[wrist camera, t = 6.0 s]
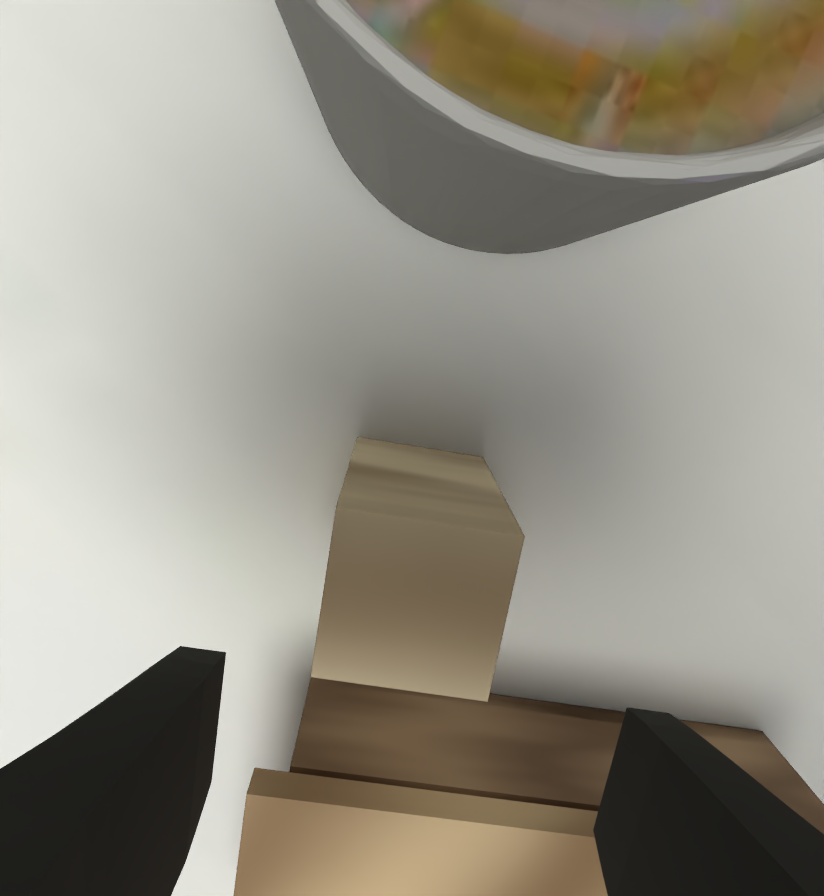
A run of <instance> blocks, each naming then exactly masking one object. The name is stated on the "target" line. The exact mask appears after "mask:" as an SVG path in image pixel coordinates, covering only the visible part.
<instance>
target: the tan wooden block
mask: <svg viewBox="0 0 824 896" xmlns="http://www.w3.org/2000/svg"><path fill="white" fill-rule="evenodd" d="M524 537H525V536H524V534H523V532H522V530H521V528H520V527H519V525H518V523H517V521H516V519H515V517H514V515H513V513H512V511H511V509H510V508H509V506H508V504H507V502H506V500H505V498H504V496H503V494H502V492H501V491H500V489H499V487H498V485H497V483H496V481H495V479H494V477H493V475H492V474H491V472H490V470H489V468H488V466H487V464H486V462H485V460H484V458H483V457H478V456H472V455H466V454H460V453H454V452H448V451H441V450H435V449H429V448H423V447H417V446H410V445H404V444H398V443H392V442H386V441H380V440H373V439H367V438H361V437H357V440H356V443H355V446H354V450H353V453H352V456H351V460H350V463H349V466H348V470H347V473H346V476H345V479H344V483H343V486H342V489H341V493H340V496H339V499H338V502H337V506H336V511H335V518H334V524H333V531H332V538H331V544H330V551H329V558H328V564H327V571H326V578H325V584H324V591H323V597H322V604H321V611H320V617H319V624H318V631H317V637H316V644H315V651H314V657H313V664H312V670H311V677H314V678H321V679H328V680H336V681H343V682H350V683H357V684H364V685H371V686H379V687H386V688H393V689H400V690H407V691H414V692H422V693H429V694H436V695H443V696H450V697H457V698H465V699H472V700H479V701H486V702H488V698H489V693H490V689H491V684H492V680H493V675H494V671H495V667H496V662H497V658H498V653H499V649H500V644H501V640H502V635H503V631H504V626H505V622H506V617H507V613H508V608H509V604H510V599H511V595H512V590H513V586H514V582H515V577H516V573H517V568H518V564H519V559H520V555H521V550H522V546H523V541H524Z"/></svg>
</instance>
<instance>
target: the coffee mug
mask: <svg viewBox="0 0 824 896" xmlns="http://www.w3.org/2000/svg"><path fill="white" fill-rule="evenodd" d="M275 2H276V5H277V7H278V9H279V12H280V14H281V17H282V19H283V22H284V24H285V26H286V29H287V31H288V34H289V36H290V38H291V41H292V43H293V46H294V48H295V50H296V53H297V55H298V58H299V60H300V63H301V65H302V67H303V70H304V72H305V75H306V77H307V79H308V82H309V84H310V87H311V89H312V91H313V94H314V96H315V99H316V101H317V104H318V106H319V108H320V111H321V113H322V116H323V118H324V120H325V123H326V125H327V128H328V130H329V132H330V134H331V136H332V138H333V140H334V142H335V144H336V146H337V148H338V149H339V151H340V153H341V155H342V156H343V158H344V160H345V161H346V162H347V164H348V165H349V167H350V168H351V170H352V171H353V172H354V174H355V175H356V176H357V178H358V179H359V180H360V181H361V183H362V184H363V185H364V186H365V187H366V188H367V189H368V190H369V192H370V193H371V194H372V195H373V196H374V197H375V198H376V199H377V200H378V201H379V202H381V203H382V204H383V205H384V206H385V207H386V208H388V209H389V210H390V211H391V212H392V213H394V214H395V215H396V216H398V217H399V218H400V219H401V220H403V221H404V222H406V223H407V224H409V225H411V226H412V227H414V228H416V229H417V230H419V231H421V232H423V233H425V234H427V235H429V236H431V237H433V238H436V239H438V240H440V241H443V242H446V243H449V244H452V245H455V246H459V247H462V248H466V249H470V250H475V251H482V252H489V253H505V254H512V253H530V252H537V251H543V250H548V249H552V248H556V247H560V246H564V245H567V244H570V243H573V242H576V241H579V240H582V239H585V238H588V237H591V236H594V235H597V234H600V233H603V232H606V231H609V230H612V229H616V228H619V227H622V226H625V225H628V224H631V223H634V222H637V221H640V220H643V219H646V218H649V217H652V216H655V215H658V214H661V213H664V212H667V211H670V210H673V209H676V208H679V207H682V206H685V205H688V204H691V203H694V202H697V201H700V200H703V199H706V198H709V197H712V196H715V195H718V194H721V193H724V192H727V191H730V190H733V189H737V188H740V187H743V186H746V185H749V184H752V183H755V182H758V181H761V180H764V179H767V178H770V177H773V176H776V175H779V174H782V173H785V172H788V171H791V170H794V169H797V168H800V167H803V166H806V165H808V164H811V163H813V162H816V161H818V160H821V159H823V158H824V0H275Z"/></svg>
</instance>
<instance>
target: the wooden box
mask: <svg viewBox="0 0 824 896" xmlns="http://www.w3.org/2000/svg"><path fill="white" fill-rule="evenodd" d="M624 716H625V712H618V711H611V710H603V709H596V708H589V707H581V706H574V705H567V704H559V703H552V702H545V701H538V700H530V699H523V698H516V697H508V696H501V695H494V694H489V698H488V702H486V701H479V700H472V699H465V698H457V697H450V696H443V695H436V694H429V693H422V692H414V691H407V690H400V689H393V688H386V687H379V686H371V685H364V684H357V683H350V682H343V681H336V680H328V679H321V678H314V677H311V680H310V684H309V688H308V693H307V697H306V701H305V706H304V710H303V714H302V718H301V723H300V727H299V731H298V736H297V740H296V744H295V749H294V753H293V757H292V761H291V766H290V772H291V773H299V774H307V775H315V776H323V777H330V778H338V779H346V780H354V781H362V782H370V783H378V784H385V785H393V786H401V787H409V788H417V789H425V790H433V791H440V792H448V793H456V794H464V795H472V796H480V797H488V798H496V799H503V800H511V801H519V802H527V803H535V804H543V805H551V806H558V807H566V808H574V809H582V810H590V811H598V810H599V807H600V803H601V799H602V796H603V792H604V788H605V785H606V781H607V778H608V774H609V770H610V767H611V763H612V759H613V756H614V752H615V749H616V745H617V741H618V738H619V734H620V730H621V727H622V723H623V720H624ZM680 721H681V722H683V723H684V724H686V725H687V726H688V727H690V728H691V729H692V730H694V731H695V732H696V733H698V734H699V735H700V736H702V737H703V738H704V739H705V740H707V741H708V742H709V743H711V744H712V745H713V746H714V747H716V748H717V749H718V750H719V751H721V752H722V753H723V754H724V755H726V756H727V757H728V758H729V759H731V760H732V761H733V762H734V763H736V764H737V765H738V766H739V767H741V768H742V769H743V770H744V771H745V772H747V773H748V774H749V775H750V776H752V777H753V778H754V779H755V780H757V781H758V782H759V783H760V784H762V785H763V786H764V787H765V788H766V789H768V790H769V791H770V792H771V793H773V794H774V795H775V796H776V797H778V798H779V799H780V800H781V801H783V802H784V803H785V804H786V805H788V806H789V807H790V808H791V809H793V810H794V811H795V812H796V813H798V814H799V815H800V816H801V817H803V818H804V819H805V820H806V821H808V822H809V823H810V824H811V825H813V826H814V827H815V828H816V829H818V830H819V831H820V832H822V833H823V834H824V804H823V803H822V802H821V800H820V799H819V798H818V797H817V796H816V794H815V793H814V792H813V791H812V790H811V789H810V787H809V786H808V785H807V784H806V783H805V781H804V780H803V779H802V778H801V777H800V775H799V774H798V773H797V772H796V771H795V770H794V768H793V767H792V766H791V765H790V764H789V762H788V761H787V760H786V759H785V758H784V757H783V755H782V754H781V753H780V752H779V751H778V749H777V748H776V747H775V746H774V745H773V743H772V742H771V741H770V740H769V739H768V738H767V736H766V735H765V734H764V733H763V732H762V731H757V730H750V729H742V728H735V727H728V726H720V725H713V724H706V723H698V722H691V721H684V720H680Z"/></svg>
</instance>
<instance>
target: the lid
mask: <svg viewBox="0 0 824 896" xmlns="http://www.w3.org/2000/svg"><path fill="white" fill-rule="evenodd" d="M597 814H598V811H590V810H582V809H574V808H566V807H558V806H551V805H543V804H535V803H527V802H519V801H511V800H503V799H496V798H488V797H480V796H472V795H464V794H456V793H448V792H440V791H433V790H425V789H417V788H409V787H401V786H393V785H385V784H378V783H370V782H362V781H354V780H346V779H338V778H330V777H323V776H315V775H307V774H299V773H291V772H283V771H275V770H267V769H260V768H254V772H253V775H252V778H251V781H250V785H249V788H248V791H247V795H246V803H245V810H244V818H243V826H242V834H241V842H240V850H239V857H238V865H237V873H236V881H235V889H234V896H608V894H607V890H606V886H605V882H604V878H603V874H602V869H601V864H600V860H599V855H598V850H597V846H596V841H595V836H594V832H593V828H594V825H595V821H596V818H597Z"/></svg>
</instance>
